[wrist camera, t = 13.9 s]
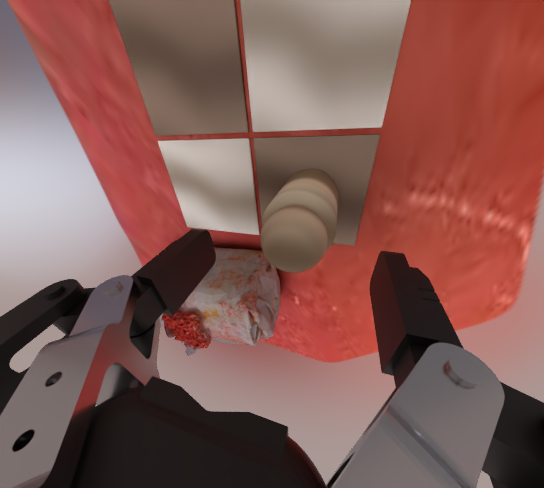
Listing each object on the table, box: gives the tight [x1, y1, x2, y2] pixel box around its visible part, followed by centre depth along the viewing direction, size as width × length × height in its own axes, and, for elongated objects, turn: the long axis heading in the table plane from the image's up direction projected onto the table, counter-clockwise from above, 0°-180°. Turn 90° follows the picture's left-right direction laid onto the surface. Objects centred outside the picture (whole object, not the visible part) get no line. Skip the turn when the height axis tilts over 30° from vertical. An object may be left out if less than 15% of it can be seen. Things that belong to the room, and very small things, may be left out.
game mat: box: [109, 0, 411, 246], centre depth 14 cm, size 18×18×1 cm
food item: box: [159, 247, 280, 356], centre depth 20 cm, size 14×8×10 cm, turn 98°
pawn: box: [260, 169, 338, 273], centre depth 12 cm, size 4×4×8 cm
